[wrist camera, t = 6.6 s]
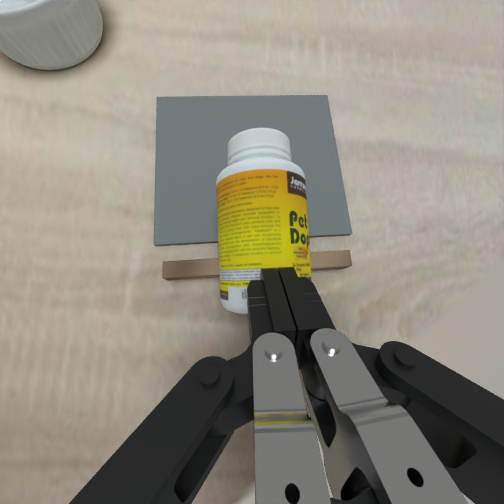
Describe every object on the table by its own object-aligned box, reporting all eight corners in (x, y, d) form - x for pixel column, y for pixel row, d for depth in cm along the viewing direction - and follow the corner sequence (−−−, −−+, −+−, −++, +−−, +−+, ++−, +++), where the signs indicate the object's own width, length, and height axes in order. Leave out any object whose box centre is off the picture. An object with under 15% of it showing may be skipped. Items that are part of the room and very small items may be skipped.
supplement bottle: (310, 319, 11) (296, 105, 11) (203, 316, 12) (196, 131, 13) (316, 300, 16) (306, 155, 16) (240, 300, 18) (234, 169, 18)
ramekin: (-4, 91, 21) (-82, 21, 16) (-10, 2, 23) (-80, -84, 18) (123, 70, 22) (89, -1, 17) (105, -12, 25) (71, -96, 19)
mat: (155, 246, 18) (153, 244, 18) (158, 100, 22) (156, 96, 21) (350, 234, 20) (352, 233, 19) (325, 98, 23) (327, 95, 22)
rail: (168, 280, 18) (162, 278, 16) (168, 264, 18) (162, 261, 17) (343, 268, 19) (352, 265, 17) (341, 254, 19) (349, 250, 18)
